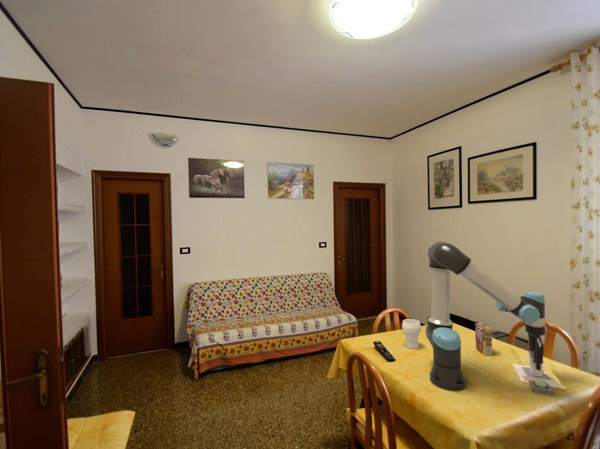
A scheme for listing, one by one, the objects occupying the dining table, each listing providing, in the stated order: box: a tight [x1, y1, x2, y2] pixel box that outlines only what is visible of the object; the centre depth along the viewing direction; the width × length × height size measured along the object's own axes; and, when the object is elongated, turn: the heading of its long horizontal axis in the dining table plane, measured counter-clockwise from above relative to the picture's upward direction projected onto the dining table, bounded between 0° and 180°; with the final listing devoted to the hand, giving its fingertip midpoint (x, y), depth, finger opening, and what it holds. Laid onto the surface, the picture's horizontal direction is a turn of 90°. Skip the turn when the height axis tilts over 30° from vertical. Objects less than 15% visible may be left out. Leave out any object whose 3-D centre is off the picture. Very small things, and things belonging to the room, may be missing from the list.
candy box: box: [474, 322, 493, 356], centre depth 167 cm, size 9×4×15 cm, turn 2°
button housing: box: [528, 380, 555, 396], centre depth 129 cm, size 7×7×2 cm
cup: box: [401, 318, 422, 350], centre depth 177 cm, size 11×11×15 cm
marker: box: [528, 350, 544, 377], centre depth 141 cm, size 4×4×10 cm
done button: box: [535, 379, 547, 389], centre depth 129 cm, size 4×4×3 cm
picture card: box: [512, 363, 563, 389], centre depth 140 cm, size 16×18×1 cm
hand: (536, 373), depth 141 cm, fingers closed on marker, 4 cm apart
